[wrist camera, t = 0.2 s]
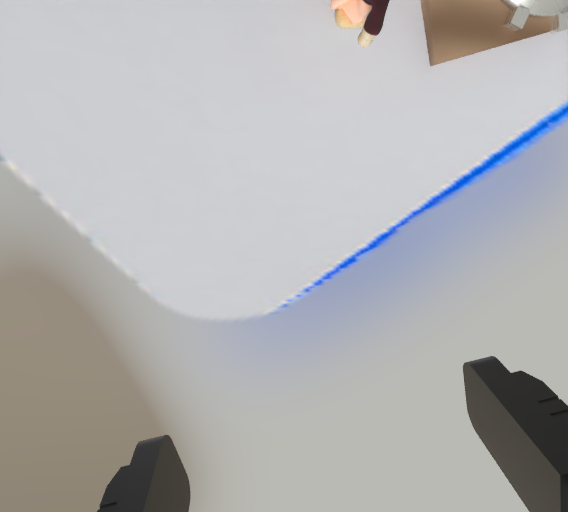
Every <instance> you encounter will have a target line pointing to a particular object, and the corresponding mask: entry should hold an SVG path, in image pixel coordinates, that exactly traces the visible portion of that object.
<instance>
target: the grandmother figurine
mask: <svg viewBox="0 0 568 512" xmlns="http://www.w3.org/2000/svg"><path fill="white" fill-rule="evenodd" d="M388 3H389V0H331V8H332V9H333V10H334V9H336V11H335V21H336V23H337V25H338V26H339V27H341V28H345V29H346V28H361V27H363V29H362V32H361V33H360V34H359V36H358V43H359V45H360V46H361V47H368V46H369V45H370V44H371V43H372V40H373V39H374V38H375V36H376V35H378V34H379V33H380V31H381V29H382V26H383V21H384V16H385V13H386V9H387V6H388Z"/></svg>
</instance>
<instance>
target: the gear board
mask: <svg viewBox="0 0 568 512" xmlns="http://www.w3.org/2000/svg"><path fill="white" fill-rule="evenodd" d="M421 6H422V13H423V19H424V26H425V33H426V40H427V47H428V53H429V60H430V66H432V65H436V64H439V63H443V62H446V61H450V60H453V59H457V58H460V57H463V56H467V55H470V54H474V53H477V52H481V51H484V50H488V49H491V48H494V47H498V46H501V45H505V44H508V43H512V42H515V41H519V40H522V39H525V38H529V37H532V36H536V35H539V34H543V33H546V32H550V31H551V28H550V17H548V18H533V17H528V18H527V20H526V22H525V24H524V26H523V28H522V29H520V30H517V31H513V30H511V29H509V28H507V27H505V26H503V25H504V23H505V21H506V18H507V16H508V14H509V12H510V10H511V9H510V8H508V7H507V6H506V5H505V4H504V3H502V2H501V1H500V0H421Z"/></svg>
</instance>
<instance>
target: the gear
mask: <svg viewBox="0 0 568 512" xmlns="http://www.w3.org/2000/svg"><path fill="white" fill-rule="evenodd" d="M500 1H501V2H502V3H504V4H505V5H506V6H507V7H508V8H510V9H511V10H510V12H509V14H508V16H507V18H506V21H505V23H504V25H503V26H505V27H507V28H509V29H511V30H513V31H517V30H520V29H522V28H523V26H524V24H525V22H526V20H527V18H528V17H533V18H548V17H550V28H551V34H552V33H555V32H559V31H562V30H565V29H568V0H500Z"/></svg>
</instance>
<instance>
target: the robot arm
mask: <svg viewBox="0 0 568 512" xmlns="http://www.w3.org/2000/svg"><path fill="white" fill-rule="evenodd" d="M463 373H464V383H465V391H466V402H467V410H468V414H469V417H470V420H471V423H472V425H473V427H474V429H475V431H476V433H477V434H478V435H479V437H480V439H481V440H482V442H483V443H484V445H485V446H486V448H487V449H488V451H489V452H490V454H491V455H492V457H493V458H494V460H495V461H496V462H497V464H498V466H499V467H500V469H501V470H502V472H503V473H504V474H505V476H506V477H507V479H508V480H509V482H510V483H511V485H512V486H513V488H514V489H515V491H516V492H517V494H518V495H519V497H520V498H521V500H522V501H523V502H524V504H525V506H526V507H527V509H528V510H529V511H530V512H568V406H567V405H566V404H565V403H564V402H563V401H562V400H561V399H560V400H559V398H558V396H557V395H556V394H555V393H554V392H553V391H552V390H551V389H550V388H549V387H548V386H547V385H546V384H545V383H544V382H543V381H540V380H539V379H537V378H535V377H533V376H531V375H529V374H527V373H525V372H523V371H518V372H514V373H510V372H509V371H508V370H507V369H506V368H505V367H504V366H503V364H502V363H501V362H500V361H499V360H498V359H497V358H496V357H494V356H490V357H487V358H482V359H478V360H474V361H470V362H466V363H464V365H463ZM189 504H190V485H189V480H188V476H187V474H186V471H185V469H184V467H183V464H182V462H181V460H180V458H179V455H178V453H177V451H176V448H175V446H174V444H173V441H172V439H171V438H170V436H168V435H164V436H160V437H156V438H152V439H148V440H143V441H140V442H139V443H138V444H137V446H136V448H135V451H134V454H133V457H132V460H131V463H130V465H128V466H124V467H121V468H120V469H119V471H118V472H117V473H116V475H115V476H114V477H113V479H112V480H111V481H110V483H109V484H108V486H107V488H106V490H105V493H104V495H103V498H102V501H101V503H100V510H98V511H97V512H188V511H189Z"/></svg>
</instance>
